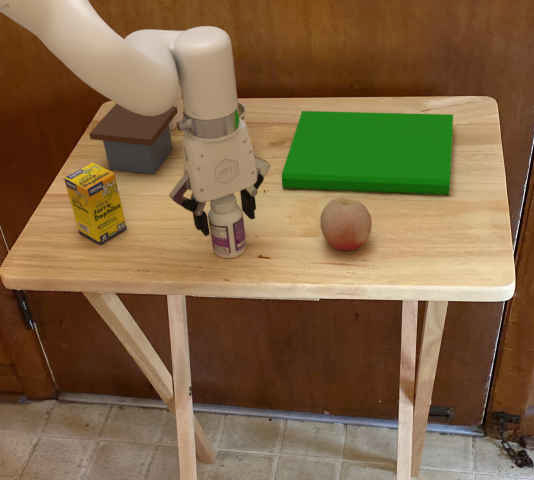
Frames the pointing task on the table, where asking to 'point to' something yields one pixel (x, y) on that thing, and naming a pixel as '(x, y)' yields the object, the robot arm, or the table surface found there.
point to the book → (371, 152)
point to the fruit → (345, 224)
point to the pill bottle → (227, 227)
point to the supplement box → (96, 203)
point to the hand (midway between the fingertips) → (226, 222)
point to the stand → (135, 139)
